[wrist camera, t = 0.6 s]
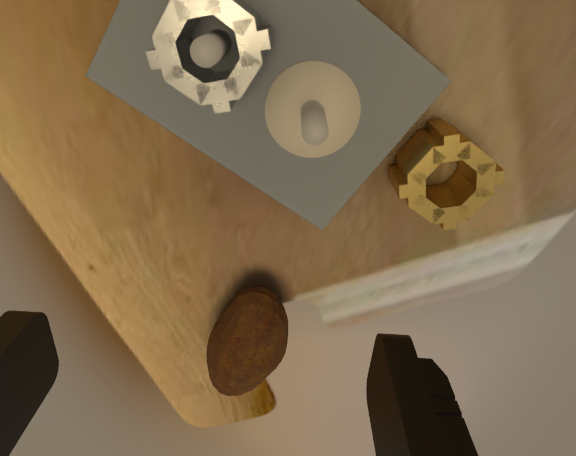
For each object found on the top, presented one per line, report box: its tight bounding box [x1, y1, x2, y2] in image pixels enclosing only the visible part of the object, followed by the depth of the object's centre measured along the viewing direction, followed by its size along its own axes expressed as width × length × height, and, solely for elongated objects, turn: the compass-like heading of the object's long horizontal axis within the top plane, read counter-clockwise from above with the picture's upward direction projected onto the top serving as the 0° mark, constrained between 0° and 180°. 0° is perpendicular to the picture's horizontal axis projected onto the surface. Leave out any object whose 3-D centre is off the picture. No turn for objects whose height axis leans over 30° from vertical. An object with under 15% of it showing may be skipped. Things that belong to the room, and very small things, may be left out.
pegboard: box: [86, 0, 451, 230], centre depth 27 cm, size 14×20×6 cm
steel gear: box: [146, 0, 274, 114], centre depth 26 cm, size 6×6×4 cm
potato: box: [207, 286, 288, 396], centre depth 37 cm, size 7×12×7 cm, turn 165°
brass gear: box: [388, 118, 505, 230], centre depth 31 cm, size 6×6×4 cm
